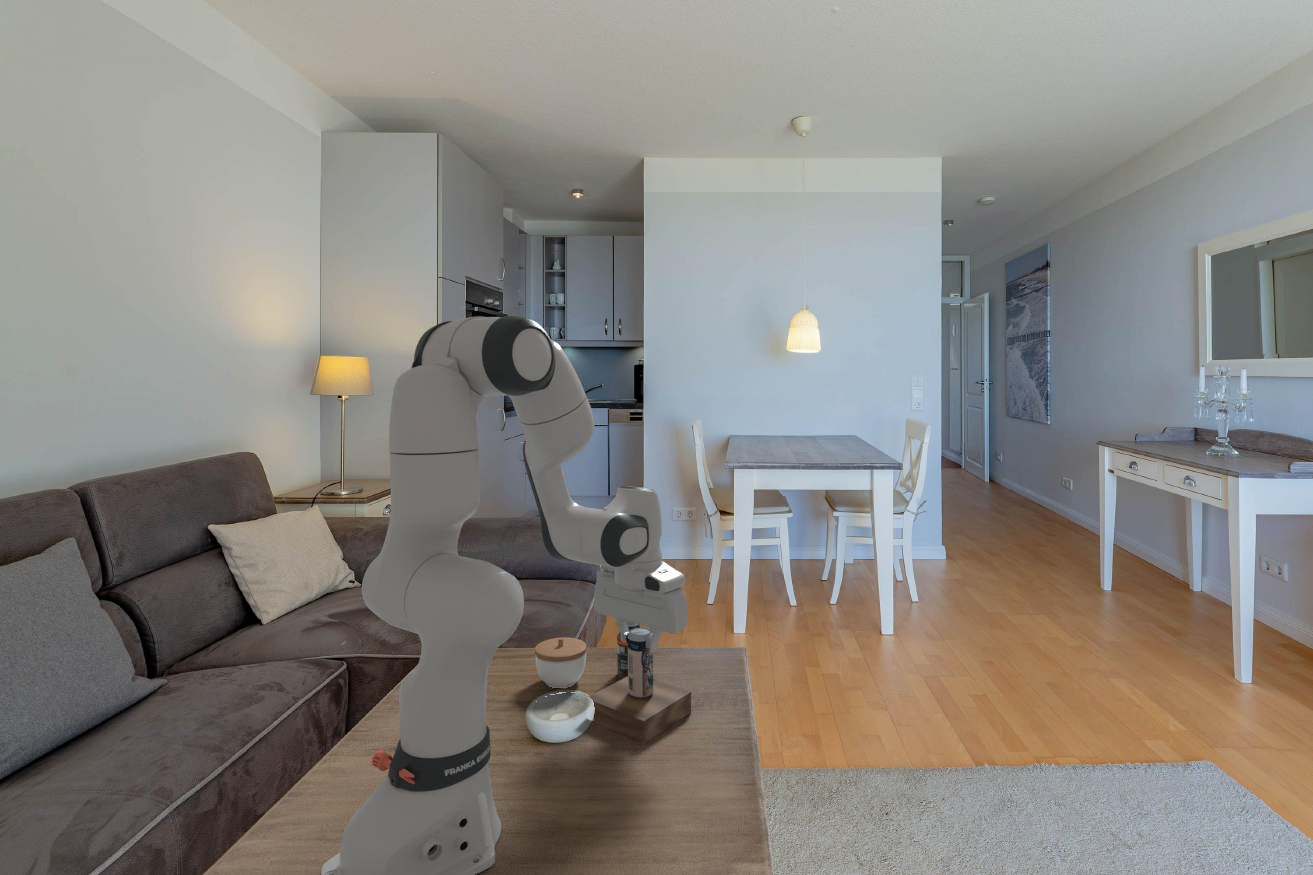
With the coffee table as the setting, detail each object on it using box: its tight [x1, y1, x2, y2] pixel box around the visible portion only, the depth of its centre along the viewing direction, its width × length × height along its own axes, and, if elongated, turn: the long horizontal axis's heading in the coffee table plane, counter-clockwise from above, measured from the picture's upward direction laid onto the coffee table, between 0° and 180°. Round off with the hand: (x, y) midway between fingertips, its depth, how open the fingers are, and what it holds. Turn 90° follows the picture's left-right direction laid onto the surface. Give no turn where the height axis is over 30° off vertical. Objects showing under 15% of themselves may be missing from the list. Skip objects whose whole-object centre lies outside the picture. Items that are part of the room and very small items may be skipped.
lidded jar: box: [534, 637, 588, 690], centre depth 137 cm, size 11×11×9 cm
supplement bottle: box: [616, 621, 641, 679], centre depth 140 cm, size 6×6×11 cm
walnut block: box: [588, 676, 692, 744], centre depth 122 cm, size 14×14×4 cm
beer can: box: [628, 627, 655, 698], centre depth 122 cm, size 5×5×12 cm
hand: (639, 645), depth 122 cm, fingers closed on beer can, 5 cm apart
